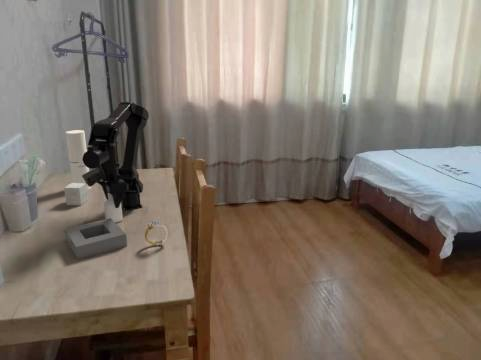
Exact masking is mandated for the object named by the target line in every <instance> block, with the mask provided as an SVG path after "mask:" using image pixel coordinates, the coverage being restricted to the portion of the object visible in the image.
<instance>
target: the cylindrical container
mask: <svg viewBox="0 0 481 360" xmlns="http://www.w3.org/2000/svg"><path fill="white" fill-rule="evenodd" d="M85 132H86V131H84V130H83V129H82V130H81V129H74V130H67V131H65V136H66V137H65V138H66V143H67V150H68V158H69V159H68V160H69V167H70V173H71V174H70V175H71V179H72V182H71V183H86V182H85V181H84V179H83V177H82V175H83V174H85V173H87V172H89V171H90V168H88V167H87V166H85V164H84V163H83V155H84V153H85V152H87V151H88V150H87V142H86V141H87V140H86V134H85ZM86 189H87V191H89V190H91V189H92V186H90V187H89V186H88V185H87V184H86Z"/></svg>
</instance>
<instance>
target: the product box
mask: <svg viewBox="0 0 481 360" xmlns="http://www.w3.org/2000/svg"><path fill="white" fill-rule="evenodd" d="M63 190H64V197H65V202H66V206H82V205H84V204H85V203H86V202H88V201H89V197H88V190H87V189H86V183H73V182H71V183H69V184H68V185H65V187H64V188H63Z"/></svg>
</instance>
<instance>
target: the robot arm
mask: <svg viewBox="0 0 481 360" xmlns="http://www.w3.org/2000/svg"><path fill="white" fill-rule="evenodd" d="M149 114H150V113H149V111H148V110H147V109H146V108H145V107H143V106H140V105H138V104H136V103H134V102H132V101H121V102H119V104H118V106H117V107H115V109H114V110H113V111H112V112H111V113H110V114H109V116H107V117H106V118H104V119H101V120H97V121H96V122H94V124H93V125H92V127H91V130H90V135H89V138H88V142H87V146H86V149H87V152H85V153H84V155H83V163H84V164H85V166H87V167H88V168H89V172H87V173H85V174H83V175H82V177H83V179H84V181H85V182H86V184H87V185H88V186H89V187H90V186H91V187H93V186H94V185H95V184H98V185H100V186H101V188H102V191H103V194H104V196H105V199H106V200H108V193H109V194H111V195H112V198H113V202H114V205H115V208H119V206H120V203H121V208H123V209H124V211H129V210H135V209H139V208H143V205H142V204H141V194H140V193H143V190H144V184H143V183H142V181H141V180H140V174H139V172H138V169H137V160H138V154H139V146H140V141H141V139H140V138H141V133H142V131H143V130H144V129H145V128H146V127H147V123H148V120H149V117H150V115H149ZM124 123H125V124H126V127H127V133H126V141H125V147H124V151H123V159H122V160H123V161H122V165H121V167H120V163H119V162H118V156H117V145H118V144H119V143H118V141H117V138H118V136H119V134H120V130H119V129H120V127H121V126H122V125H123V124H124ZM90 169H91V170H90Z"/></svg>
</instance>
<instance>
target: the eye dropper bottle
mask: <svg viewBox="0 0 481 360" xmlns="http://www.w3.org/2000/svg"><path fill="white" fill-rule="evenodd" d="M122 208H123V207H122V206H121V203H120V206H119V208H115V205H114V202H113V198H112V195H111V194H109V193H108V200H107V199H106V200H104V202H103V209H104V210H103V211H104V218H105V219H109V218H111V219H112V220H113V221H114V222H115V223H116V224H117V223H119V222H121V221H123V218H124V217H123V209H122ZM105 219H104V220H105Z"/></svg>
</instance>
